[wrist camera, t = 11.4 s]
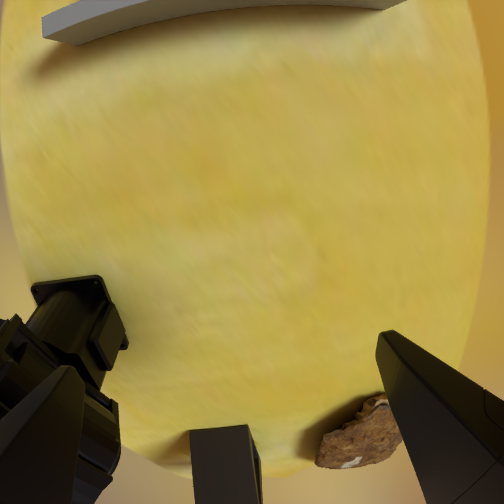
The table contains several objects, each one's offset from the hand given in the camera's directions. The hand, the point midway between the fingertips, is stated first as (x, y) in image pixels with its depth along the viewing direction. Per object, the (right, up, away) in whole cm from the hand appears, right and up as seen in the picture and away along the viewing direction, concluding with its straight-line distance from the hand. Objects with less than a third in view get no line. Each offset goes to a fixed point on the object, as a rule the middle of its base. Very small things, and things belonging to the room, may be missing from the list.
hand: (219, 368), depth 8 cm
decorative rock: (+13, -16, +23) cm, 31 cm away
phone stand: (-2, -18, +23) cm, 29 cm away
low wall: (0, +17, +5) cm, 17 cm away
